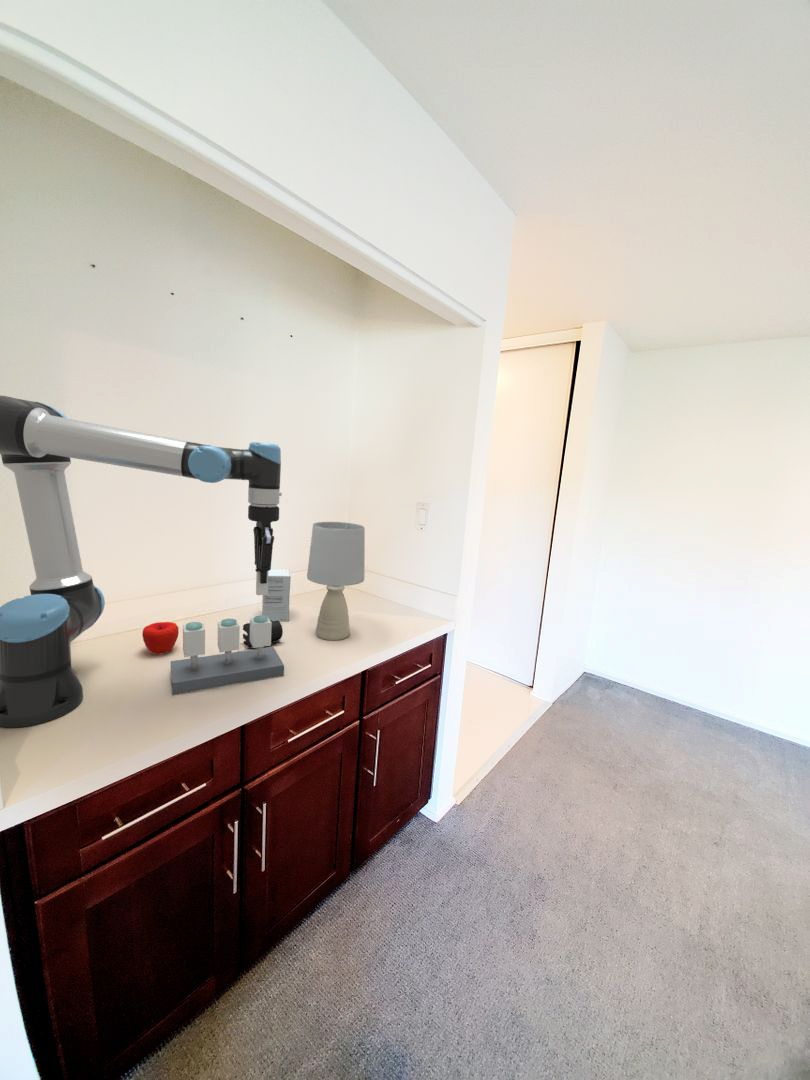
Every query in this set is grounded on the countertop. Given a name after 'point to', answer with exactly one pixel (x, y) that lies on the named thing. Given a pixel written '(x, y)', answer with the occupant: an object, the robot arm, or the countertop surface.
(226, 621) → the button mid
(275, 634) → the end cap
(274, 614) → the supplement box
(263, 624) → the button far
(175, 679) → the mount
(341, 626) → the lamp
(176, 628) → the apple
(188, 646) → the button near
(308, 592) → the countertop surface
